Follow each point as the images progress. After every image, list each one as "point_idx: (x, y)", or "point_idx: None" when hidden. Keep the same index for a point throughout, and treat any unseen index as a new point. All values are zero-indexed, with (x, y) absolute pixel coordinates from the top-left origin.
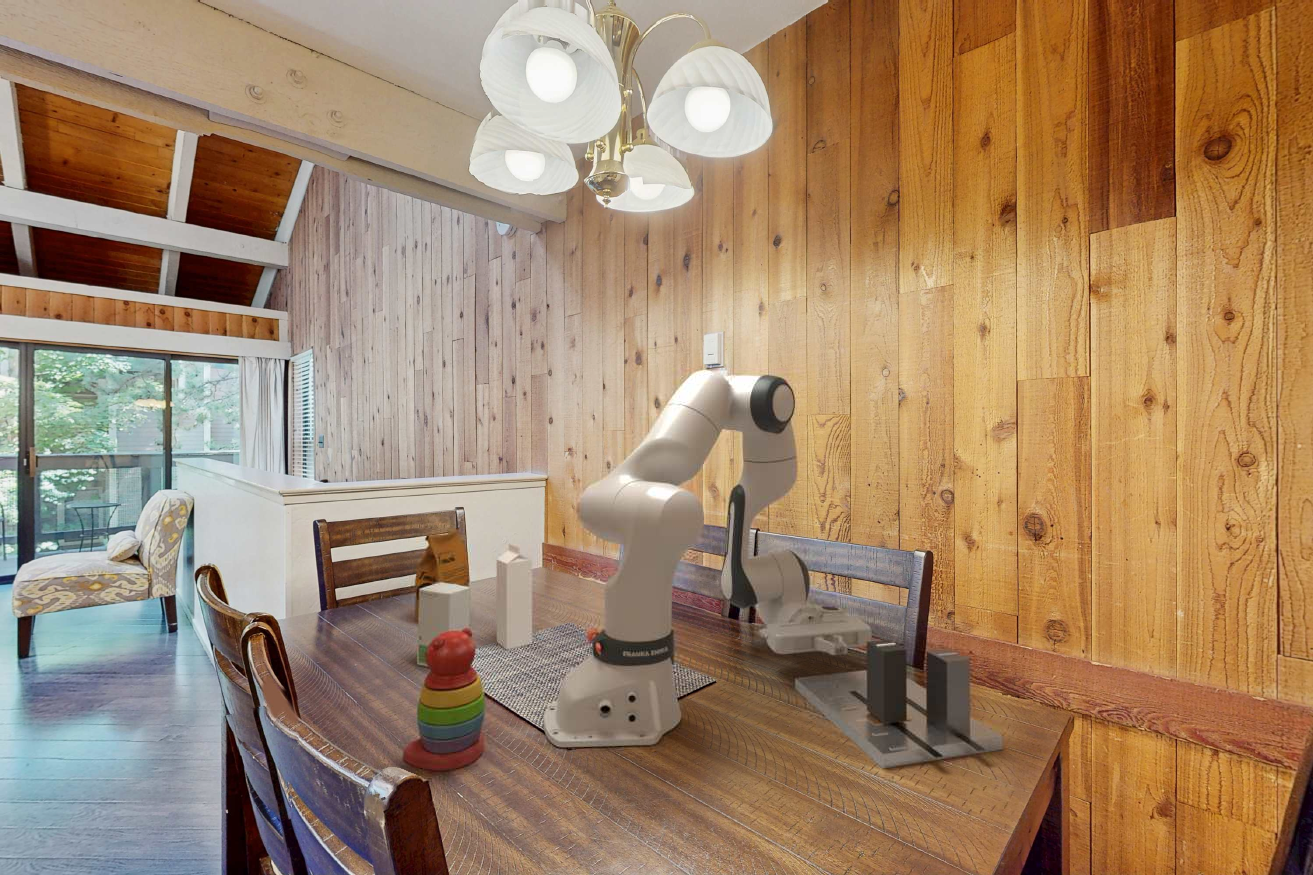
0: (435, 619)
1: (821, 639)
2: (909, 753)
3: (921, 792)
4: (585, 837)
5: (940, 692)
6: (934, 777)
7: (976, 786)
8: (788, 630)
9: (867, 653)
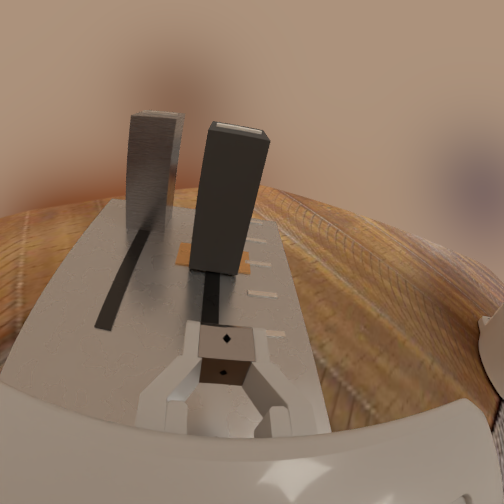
0: None
1: (292, 395)
2: None
3: (256, 213)
4: (460, 261)
5: (175, 166)
6: None
7: None
8: (450, 460)
9: (263, 165)
